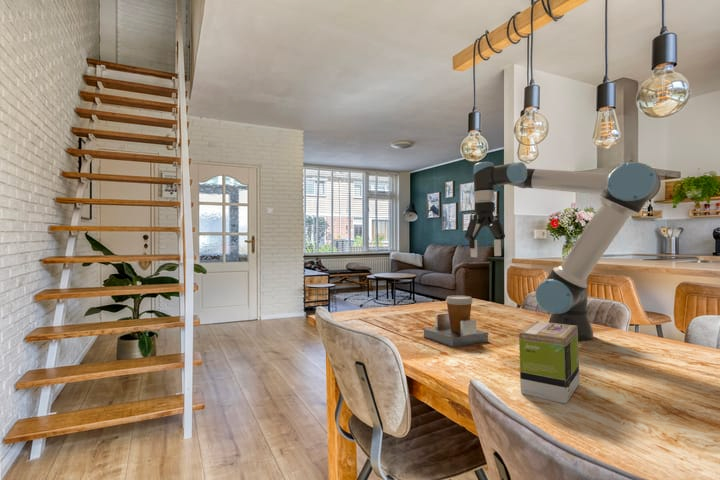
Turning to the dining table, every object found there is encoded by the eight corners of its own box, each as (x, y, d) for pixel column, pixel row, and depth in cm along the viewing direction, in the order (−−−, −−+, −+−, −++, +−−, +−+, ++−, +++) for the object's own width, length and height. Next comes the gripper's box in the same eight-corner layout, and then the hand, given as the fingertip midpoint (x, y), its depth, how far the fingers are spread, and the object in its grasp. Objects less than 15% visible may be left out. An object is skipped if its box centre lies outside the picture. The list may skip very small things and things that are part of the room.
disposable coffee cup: (470, 327, 145) (469, 295, 145) (475, 333, 135) (475, 299, 135) (444, 327, 145) (443, 295, 145) (448, 333, 136) (447, 299, 136)
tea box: (537, 376, 102) (536, 319, 102) (580, 384, 95) (579, 324, 95) (518, 394, 90) (518, 330, 90) (566, 405, 84) (566, 337, 84)
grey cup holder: (488, 341, 136) (487, 318, 136) (453, 347, 129) (452, 323, 129) (456, 331, 151) (456, 311, 151) (423, 336, 143) (423, 315, 143)
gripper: (497, 204, 161) (499, 255, 161) (454, 202, 148) (456, 257, 148) (513, 202, 155) (515, 255, 155) (469, 200, 142) (471, 257, 142)
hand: (486, 256), depth 151 cm, fingers open, 13 cm apart
